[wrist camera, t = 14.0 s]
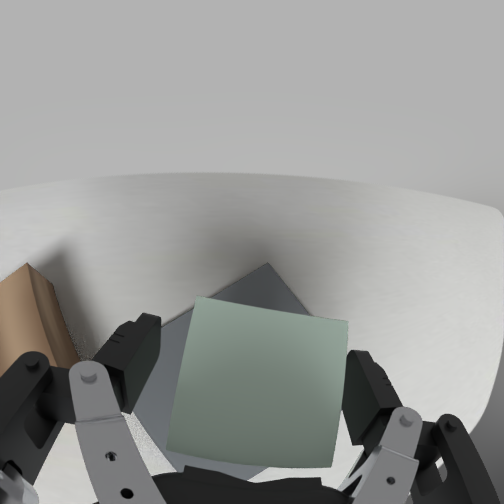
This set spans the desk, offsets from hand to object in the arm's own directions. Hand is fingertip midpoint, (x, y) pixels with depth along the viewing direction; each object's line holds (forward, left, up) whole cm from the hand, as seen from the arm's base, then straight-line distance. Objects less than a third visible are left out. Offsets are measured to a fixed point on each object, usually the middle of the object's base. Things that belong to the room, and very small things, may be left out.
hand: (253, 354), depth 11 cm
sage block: (-1, -1, -7) cm, 7 cm away
